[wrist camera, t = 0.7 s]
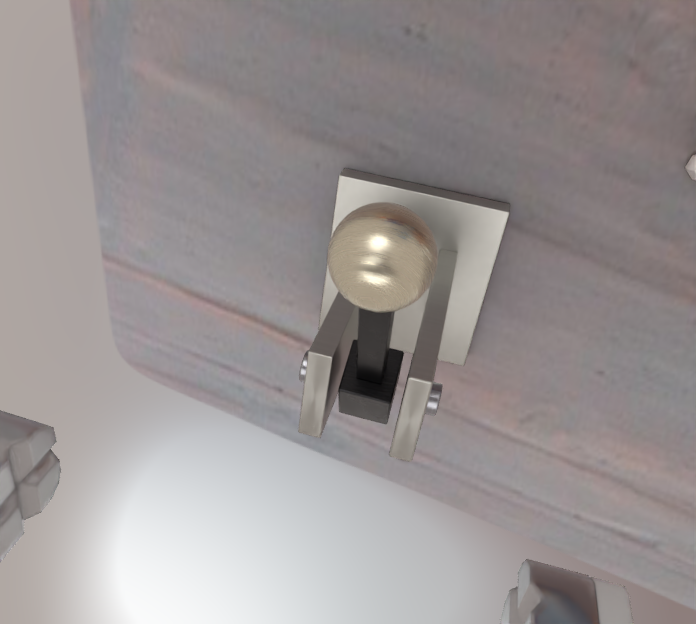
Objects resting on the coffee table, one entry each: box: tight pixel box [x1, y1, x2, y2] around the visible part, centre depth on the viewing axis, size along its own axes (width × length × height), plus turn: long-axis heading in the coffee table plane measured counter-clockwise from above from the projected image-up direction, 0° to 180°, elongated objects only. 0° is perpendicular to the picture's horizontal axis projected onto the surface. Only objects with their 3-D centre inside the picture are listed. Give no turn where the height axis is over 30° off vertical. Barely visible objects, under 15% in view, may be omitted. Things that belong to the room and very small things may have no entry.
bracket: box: [298, 168, 510, 462], centre depth 31 cm, size 10×9×13 cm
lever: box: [327, 202, 438, 424], centre depth 23 cm, size 13×3×3 cm, turn 171°
